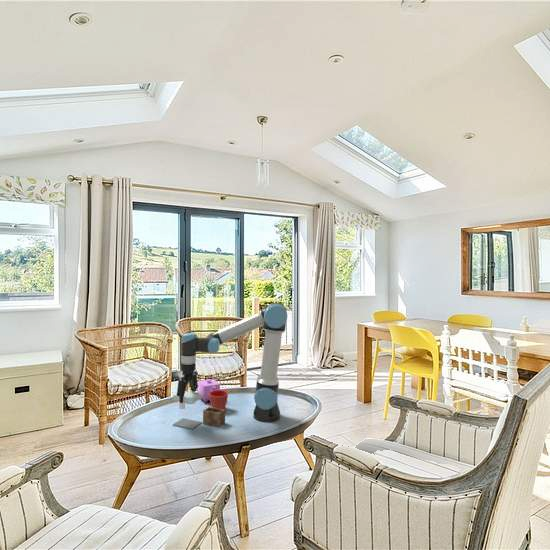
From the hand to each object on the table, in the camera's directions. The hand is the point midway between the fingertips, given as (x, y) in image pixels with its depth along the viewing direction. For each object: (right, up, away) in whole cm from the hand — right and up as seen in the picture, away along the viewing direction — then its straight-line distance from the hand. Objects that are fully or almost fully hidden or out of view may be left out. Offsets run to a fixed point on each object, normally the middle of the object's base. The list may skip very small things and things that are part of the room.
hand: (187, 405), depth 195 cm
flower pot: (+13, -10, +22) cm, 27 cm away
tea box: (+14, -10, +2) cm, 17 cm away
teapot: (+5, -10, +37) cm, 38 cm away
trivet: (0, -10, 0) cm, 10 cm away
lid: (0, +3, 0) cm, 3 cm away
